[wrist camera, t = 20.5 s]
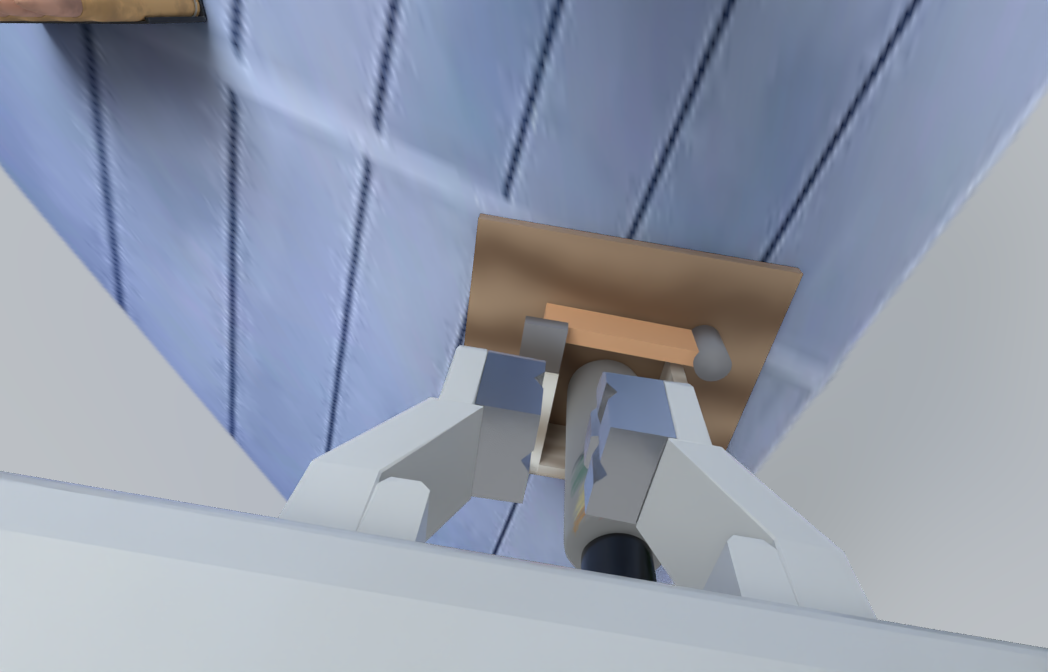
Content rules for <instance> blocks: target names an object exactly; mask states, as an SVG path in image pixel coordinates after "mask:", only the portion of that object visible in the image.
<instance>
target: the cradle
mask: <svg viewBox="0 0 1048 672" xmlns="http://www.w3.org/2000/svg"><path fill="white" fill-rule="evenodd" d="M802 276H803V273H802V272H801V271H800V270H799V268H795V267H789V266H783V265H778V264H772V263H766V262H760V261H754V260H748V259H743V258H737V257H731V256H725V255H719V254H713V253H708V252H702V251H696V250H690V249H684V248H678V247H673V246H667V245H661V244H655V243H649V242H643V241H638V240H632V239H626V238H620V237H614V236H608V235H603V234H597V233H591V232H585V231H579V230H573V229H568V228H562V227H556V226H550V225H544V224H538V223H533V222H527V221H521V220H515V219H509V218H503V217H498V216H492V215H486V214H480V216H479V218H478V226H477V235H476V244H475V253H474V262H473V271H472V280H471V288H470V297H469V306H468V315H467V324H466V333H465V342H464V346H470V347H476V348H483V349H487V350H488V351H489V350H492V351H497V352H502V353H508V354H513V355H518V356H523V357H528V358H534V359H539V360H544V361H546V365H545V374H544V379H543V385H542V387H543V388H544V389H543V399H542V409H541V417H540V422H539V427H538V432H537V437H536V442H535V447H534V451H532V452H531V460H530V469H529V474H535V475H541V476H547V477H553V478H559V479H565V452H566V409H567V390H568V385H569V382H570V379H571V377H572V376H573V374H574V373H575V372H576V371H577V370H578V369H579V368H580V367H582V366H583V365H585V364H587V363H589V362H592V361H596V360H613V361H617V362H620V363H622V364H624V365H626V366H628V367H629V368H630V369H631V370H633V372H634V373H635V374H636V376H637V377H644V378H651V379H657V380H665V381H673V382H680V383H688V384H690V385H692V386H693V387H694V390H695V393H696V397H697V400H698V403H699V406H700V409H701V412H702V415H703V418H704V421H705V424H706V427H707V430H708V433H709V437H710V440H711V443H712V445H714V446H719V447H722V448H723V449H724V450H725V451H726V449H727V447H728V444H729V442H730V440H731V438H732V435H733V433H734V431H735V429H736V426H737V424H738V422H739V419H740V417H741V415H742V413H743V410H744V408H745V406H746V403H747V401H748V399H749V397H750V394H751V392H752V390H753V387H754V385H755V383H756V381H757V378H758V376H759V374H760V371H761V369H762V367H763V365H764V362H765V360H766V358H767V355H768V353H769V351H770V349H771V346H772V344H773V342H774V340H775V337H776V335H777V333H778V330H779V328H780V326H781V324H782V321H783V319H784V317H785V314H786V312H787V310H788V308H789V305H790V303H791V301H792V298H793V296H794V294H795V292H796V289H797V287H798V285H799V282H800V280H801V278H802ZM547 303H551V304H556V305H562V306H567V307H572V308H578V309H583V310H588V311H594V312H599V313H604V314H609V315H615V316H620V317H625V318H631V319H636V320H641V321H647V322H652V323H657V324H662V325H668V326H673V327H678V328H684V329H689V330H692V329H693V328H695V327H697V326H701V325H709V326H712V327H714V328H715V329H717V331H718V332H719V334H720V336H721V338H722V341H723V343H724V345H725V347H726V350H727V352H728V354H729V356H730V359H731V361H732V368H731V370H730V372H729V373H728V375H727V376H725V377H724V378H722V379H720V380H717V381H705V380H703V379H701V378H699V377H698V376H697V374H696V373H695V370H694V367H692V366H687V365H681V364H676V363H671V362H665V361H660V360H655V359H649V358H644V357H639V356H633V355H628V354H623V353H617V352H612V351H607V350H601V349H596V348H591V347H585V346H580V345H575V344H569V343H566V338H567V334H568V323H567V322H561V321H555V320H549V319H543V318H544V313H545V309H546V304H547Z"/></svg>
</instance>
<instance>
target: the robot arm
mask: <svg viewBox="0 0 1048 672" xmlns="http://www.w3.org/2000/svg"><path fill="white" fill-rule="evenodd" d="M545 365H546V361H544V360H539V359H534V358H528V357H523V356H518V355H513V354H508V353H502V352H497V351H492V350H489V351H488V350H487V349H483V348H476V347H470V346H464V345H459V346H458V347H457V349H456V351H455V354H454V357H453V360H452V363H451V365H450V368H449V371H448V374H447V377H446V379H445V382H444V385H443V388H442V391H441V393H440V396H439V398H433V397H430V398H428V399H426V400H424V401H422V402H420V403H418V404H417V405H415V406H413V407H411V408H409V409H407V410H405V411H403V412H402V413H400V414H398V415H396V416H394V417H392V418H390V419H389V420H387V421H385V422H383V423H381V424H379V425H377V426H375V427H374V428H372V429H370V430H368V431H366V432H364V433H362V434H361V435H359V436H357V437H355V438H353V439H351V440H349V441H347V442H346V443H344V444H342V445H340V446H338V447H336V448H334V449H333V450H331V451H329V452H327V453H325V454H323V455H321V456H319V457H318V458H316V459H314V460H312V461H311V463H310V465H309V466H308V468H307V470H306V471H305V473H304V475H303V477H302V478H301V480H300V482H299V483H298V485H297V487H296V488H295V490H294V492H293V493H292V495H291V497H290V498H289V500H288V502H287V503H286V505H285V507H284V508H283V510H282V512H281V513H280V515H279V517H278V518H275V517H269V516H262V515H256V514H251V513H245V512H239V511H233V510H228V509H221V508H216V507H210V506H204V505H198V504H192V503H186V502H180V501H174V500H169V499H162V498H157V497H151V496H145V495H139V494H133V493H127V492H122V491H116V490H110V489H104V488H98V487H92V486H86V485H80V484H74V483H69V482H63V481H57V480H51V479H45V478H39V477H33V476H27V475H21V474H16V473H9V472H4V471H0V672H1048V648H1043V647H1037V646H1031V645H1025V644H1019V643H1013V642H1007V641H1002V640H996V639H989V638H984V637H978V636H972V635H966V634H959V633H953V632H947V631H941V630H935V629H929V628H923V627H917V626H912V625H906V624H900V623H894V622H888V621H882V620H878V619H877V617H876V615H875V613H874V611H873V609H872V607H871V605H870V603H869V601H868V599H867V597H866V595H865V594H864V591H863V589H862V587H861V585H860V583H859V581H858V579H857V577H856V575H855V573H854V571H853V569H852V567H851V565H850V563H849V561H848V559H847V557H846V555H845V553H844V551H842V550H841V549H840V548H839V547H838V546H837V545H835V544H834V543H833V542H832V541H831V540H830V539H828V538H827V537H826V536H825V535H824V534H822V533H821V532H820V531H819V530H818V529H817V528H816V527H814V526H813V525H812V524H811V523H810V522H809V521H807V520H806V519H805V518H804V517H803V516H802V515H800V514H799V513H798V512H797V511H796V510H794V509H793V508H792V507H791V506H790V505H789V504H787V503H786V502H785V501H784V500H783V499H782V498H780V497H779V496H778V495H777V494H776V493H775V492H773V491H772V490H771V489H770V488H768V487H767V486H766V485H765V484H764V483H763V482H762V481H761V480H759V479H758V478H757V477H756V476H755V475H754V474H752V473H751V472H750V471H749V470H748V469H747V468H745V467H744V466H743V465H742V464H741V463H739V462H738V461H737V460H736V459H735V458H734V457H732V456H731V455H730V454H729V453H728V452H727V451H725V450H724V449H723V448H722V447H719V446H714V445H712V443H711V440H710V437H709V433H708V430H707V427H706V424H705V421H704V418H703V415H702V412H701V409H700V406H699V403H698V400H697V397H696V393H695V390H694V387H693V386H692V385H690V384H688V383H680V382H673V381H665V380H657V379H651V378H644V377H637V376H630V375H623V374H616V373H610V372H603V373H602V375H601V378H600V380H599V384H598V387H597V391H596V394H597V408H596V409H594V410H593V411H592V412H591V414H590V418H589V422H588V426H587V431H586V437H585V444H584V466H585V467H586V468H587V469H588V472H587V475H586V479H585V483H584V496H585V514H586V515H591V516H596V517H602V518H607V519H612V520H617V521H622V522H627V523H632V524H637V525H636V528H637V529H638V531H639V532H640V534H641V535H642V536H643V538H644V539H645V541H646V542H647V544H648V545H649V547H650V548H651V550H652V551H653V553H654V554H655V556H656V557H657V559H658V560H659V562H660V563H661V564H662V566H663V567H664V569H665V570H666V572H667V573H668V575H669V576H670V578H671V579H672V581H673V582H674V584H675V585H671V584H665V583H659V582H653V581H647V580H641V579H635V578H629V577H623V576H617V575H611V574H605V573H600V572H594V571H588V570H582V569H576V568H570V567H564V566H558V565H552V564H546V563H540V562H534V561H528V560H522V559H516V558H510V557H504V556H498V555H493V554H487V553H481V552H475V551H469V550H463V549H457V548H451V547H445V546H440V545H434V544H428V543H425V542H426V541H427V540H428V539H429V538H430V537H431V536H432V535H433V534H434V533H436V532H437V531H438V530H439V529H440V528H441V527H442V526H443V525H444V524H445V523H446V522H447V521H448V520H449V519H450V518H451V517H452V516H453V515H454V514H455V513H456V512H457V511H459V510H460V509H461V508H462V507H463V506H464V505H465V504H466V503H467V502H468V501H469V500H470V499H471V496H473V497H480V498H487V499H494V500H501V501H508V502H515V503H523V498H524V494H525V489H526V485H527V480H528V476H529V469H530V460H531V452H532V451H534V447H535V442H536V437H537V432H538V427H539V422H540V417H541V409H542V399H543V389H544V388H543V387H542V385H543V379H544V374H545Z"/></svg>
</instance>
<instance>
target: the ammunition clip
mask: <svg viewBox="0 0 1048 672" xmlns="http://www.w3.org/2000/svg"><path fill="white" fill-rule="evenodd" d="M206 21H207V20H206V16H205V12H204V8H203V4H202V0H0V23H86V24H159V23H193V22H206Z"/></svg>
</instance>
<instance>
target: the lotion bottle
mask: <svg viewBox="0 0 1048 672" xmlns="http://www.w3.org/2000/svg"><path fill="white" fill-rule="evenodd" d="M603 372H610V373H616V374H623V375H630V376H636V374H635V373H634V372H633V370H631V369H630V368H629V367H628V366H626V365H624V364H622V363H620V362H617V361H613V360H596V361H592V362H589V363H587V364H585V365H583V366H582V367H580V368H579V369H578V370H577V371H576V372H575V373H574V374H573V376H572V377H571V379H570V382H569V385H568V390H567V409H566V452H565V494H564V548H565V553H566V555H567V558H568V559H569V561H570V562H571V564H572V565H573V566H574V567H575V568H576V569H582V570H588V571H594V572H600V573H605V574H611V575H617V576H623V577H629V578H635V579H641V580H647V581H653V582H657V581H656V574H655V570H656V569H657V568H658V567H659V566H660V565H661V563H660V562H659V560H658V559H657V557H656V556H655V554H654V553H653V551H652V550H651V548H650V547H649V545H648V544H647V542H646V541H645V539H644V538H643V536H642V535H641V534H640V532H639V531H638V529H637V528H636V525H637V524H632V523H627V522H622V521H617V520H612V519H607V518H602V517H596V516H591V515H586V514H585V496H584V483H585V479H586V475H587V472H588V469H587V468H586V467H585V466H584V444H585V437H586V431H587V426H588V422H589V418H590V414H591V412H592V411H593V410H594V409H596V408H597V394H596V391H597V387H598V384H599V380H600V378H601V375H602V373H603Z"/></svg>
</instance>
